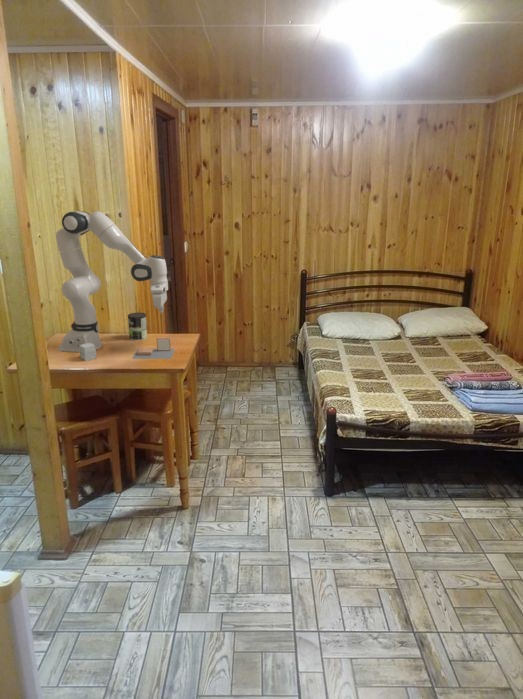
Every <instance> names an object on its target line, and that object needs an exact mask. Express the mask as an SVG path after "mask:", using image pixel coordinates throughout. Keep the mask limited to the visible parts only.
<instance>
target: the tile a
mask: <svg viewBox="0 0 523 699" xmlns="http://www.w3.org/2000/svg"><path fill="white" fill-rule="evenodd" d="M138 349H139V351H138V355H152V353H153V349H154V347H140V348H138Z"/></svg>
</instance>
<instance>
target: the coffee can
mask: <svg viewBox="0 0 523 699" xmlns="http://www.w3.org/2000/svg"><path fill="white" fill-rule="evenodd" d="M127 320H128V322H127V323H128V335H129V340H132V341H144V340H147V339H148V328H147V314H146V313H145V312H131V313H128V314H127ZM146 338H147V339H146Z"/></svg>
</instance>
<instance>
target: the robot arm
mask: <svg viewBox="0 0 523 699" xmlns="http://www.w3.org/2000/svg"><path fill="white" fill-rule="evenodd" d="M61 225H62V228H60V229H59V230H57V232H56V233H55V238H56V244H57V248H58V251H59V255H60V258H61V262H62V265H63V267H64V269H65V270H68V271H69V273H70V274H71V275H72V277H71V278H70V279H67V280H66V281H65V282H64V283H63V284H62V285H61V292H62V295H63V296H64V297H65V298H66V299H67V300H68V301H69V302H70V305H71V307H72V310H73V317H74V321H73V322H72V323H71V326H70V328H71V329H70V330H69V331H68V332H67V333H66V334H65V335H64V336H63V337H62V341H61V344H60V345H59V346H58V348H57V350H58V352H69V353H70V352H71V353H80V350H79V345H81V344H85V343H91V344H93V345H95V350H98V349H101V348H102V347H103V343H102V341H101V338H100V334H99V323H98V320H97V311H96V307H95V306H94V304H92V303H91V301H90V298H89V296H91V295H94V294H95V293H97V292H98V291H99V290H100V289H101V287H102V281H101V279H100V277H99V276H98V275H97V274H95V273H94V272H93V270H91V268H90V266H89V264H88V263H87V260H86V257H85V254H84V251H83V249H82V246H81V242H80V236H84V235H85V234H86V233H88V232H92V233H93V234H94V235H95V236H96V238H98V240H99V241H100V242H101V243H102V244H103V245H104V246H106V247H107V248H108V249H113V250H117V251H121V252H123V253H124V254H125V255H126V256H127V257H128V258H129V259H130V260H131V261H132V263H133V265H132V267H131V268H130V274H131V277H132V278H133V280H135V281H137V282H145V281H148V280H149V281H150V294H152V295H151V296H152V297H151V298H152V303H153V307H154V309H158V311H159V314H163V313H164V311H165V310H164V307H165V305H164V304H165V303H166V302H167V300H168V295H167V291H168V290H169V281H168V278H167V274H168V269H167V263H166V262H167V261H166V259H165V258H164V257H163V256H161V255H157V254H156V255H154V254H153V255H149V257H147V256H145V255H144V254H143V253H142V252H141V250H139V249H138V248H137V247H136V246H135V245H134V244H133V243H132V242H131V241H130V240H129V238H128V237H126V235H125V234H124V233H123V232H122V231H121V229H120V228H119V227H118V226H117V225H116V224H115V223H114V221H112V219H111V218H110V217H109V216H107V215H106V214H105V213H103V212H102V211H100V210H99V211H98V210H97V211H93V212H92V213H91V214H90V213H88V212H86V211H83V210H74V211H69V212H66V213H64V215H63V217H62V219H61Z"/></svg>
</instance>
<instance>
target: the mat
mask: <svg viewBox="0 0 523 699" xmlns="http://www.w3.org/2000/svg"><path fill="white" fill-rule="evenodd" d="M139 349H140V348H137V349H136V351H135V353H134V354H133V357H132V358H131V359H132V360H140V359H141V360H157V359H158V360H161V359H162V360H171V359H173V355H174V352H175V351H176V350H175V349H176V348H171V351H157V348H153V353H152V355H138V351H139Z"/></svg>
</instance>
